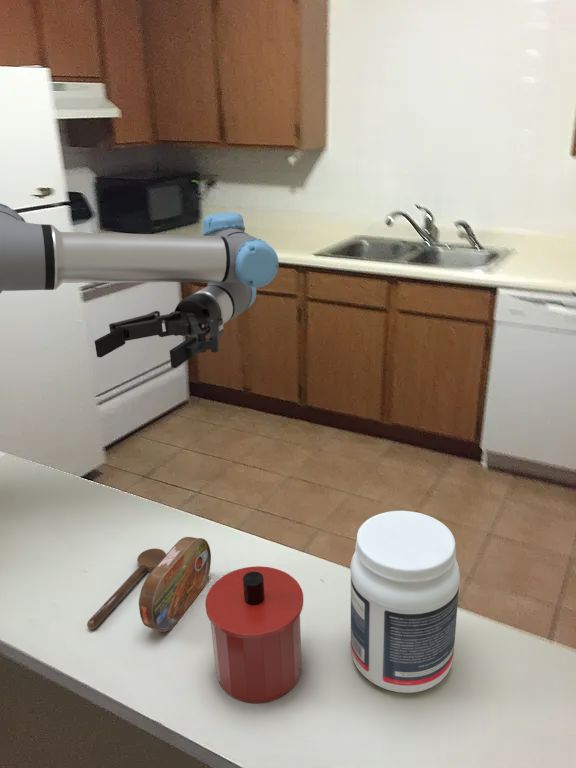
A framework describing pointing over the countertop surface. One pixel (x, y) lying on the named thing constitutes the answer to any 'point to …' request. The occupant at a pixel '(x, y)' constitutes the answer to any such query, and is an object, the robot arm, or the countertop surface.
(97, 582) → the countertop surface
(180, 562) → the tin
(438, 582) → the supplement tub
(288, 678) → the pot
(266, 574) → the pot lid
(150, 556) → the spoon
